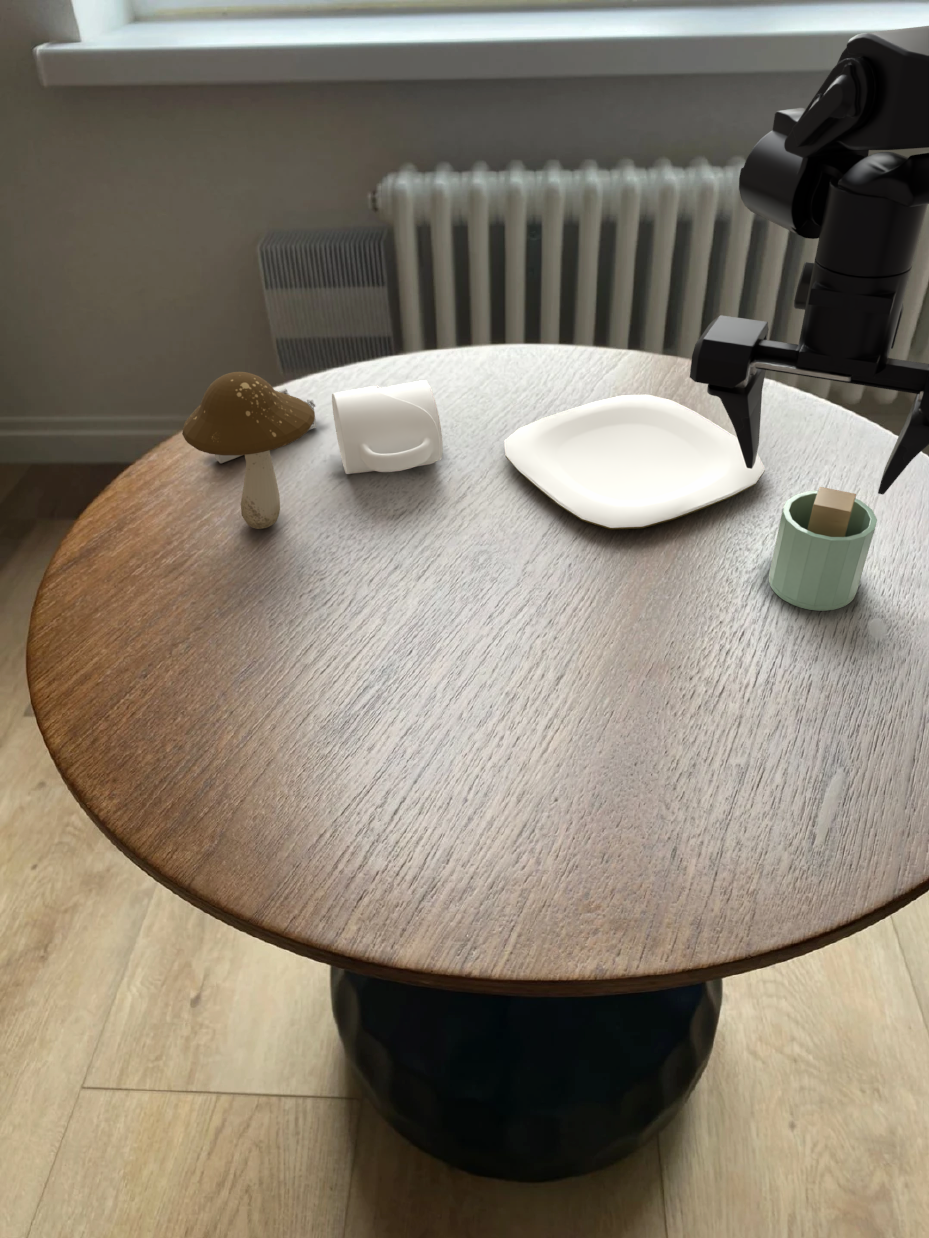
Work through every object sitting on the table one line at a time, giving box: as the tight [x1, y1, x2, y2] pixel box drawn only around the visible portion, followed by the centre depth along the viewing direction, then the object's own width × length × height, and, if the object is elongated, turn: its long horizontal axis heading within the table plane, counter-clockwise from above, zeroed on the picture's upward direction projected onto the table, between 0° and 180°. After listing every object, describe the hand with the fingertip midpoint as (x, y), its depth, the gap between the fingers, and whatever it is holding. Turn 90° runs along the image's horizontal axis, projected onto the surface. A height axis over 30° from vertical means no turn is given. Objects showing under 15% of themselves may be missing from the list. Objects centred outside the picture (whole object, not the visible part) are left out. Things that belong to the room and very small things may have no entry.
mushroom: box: [181, 371, 316, 530], centre depth 86 cm, size 9×11×15 cm
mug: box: [331, 379, 444, 475], centre depth 95 cm, size 12×9×8 cm
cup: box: [768, 490, 878, 612], centre depth 78 cm, size 7×7×7 cm
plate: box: [503, 393, 766, 530], centre depth 95 cm, size 22×22×2 cm
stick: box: [808, 486, 857, 537], centre depth 78 cm, size 3×3×8 cm
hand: (814, 478), depth 70 cm, fingers open, 9 cm apart
